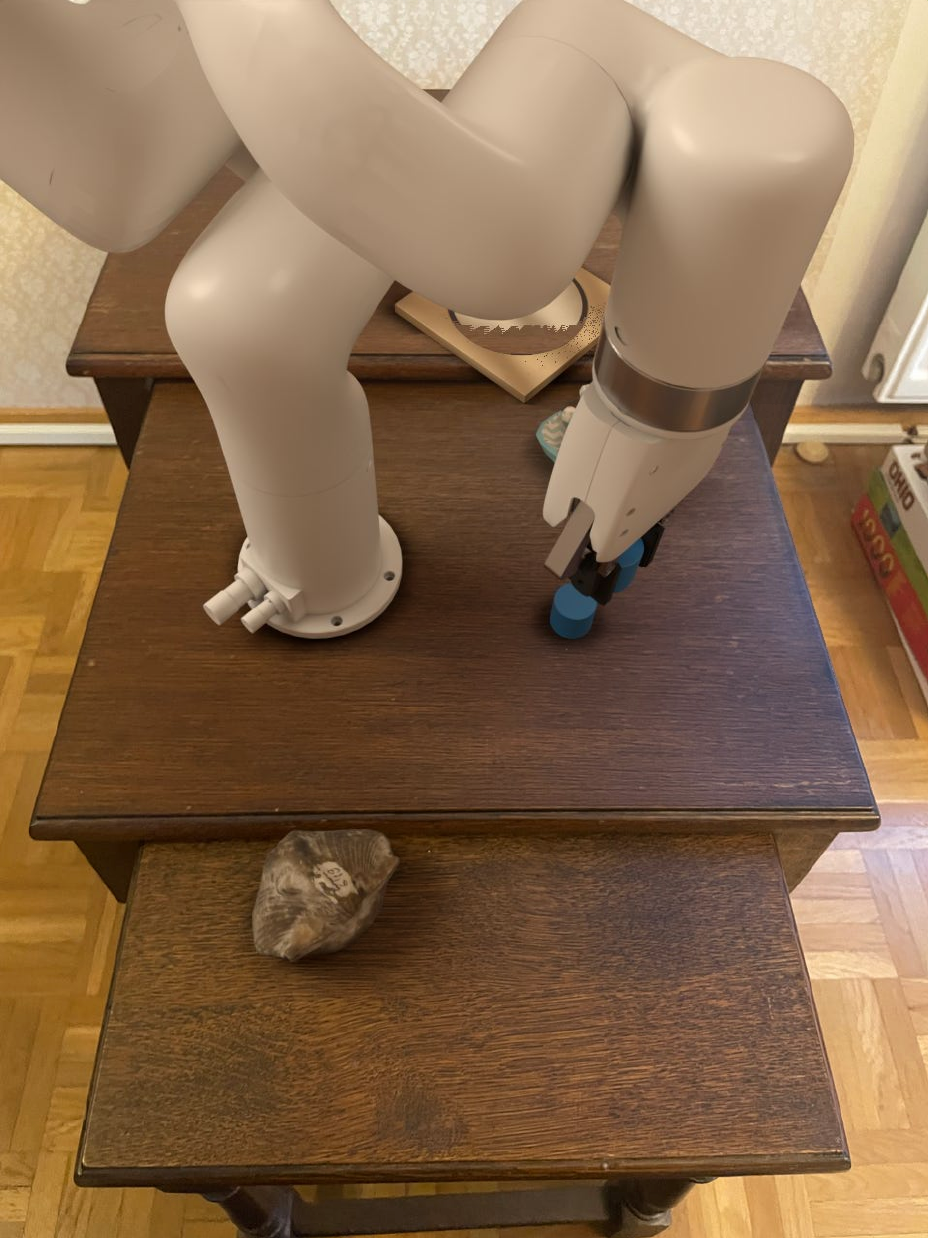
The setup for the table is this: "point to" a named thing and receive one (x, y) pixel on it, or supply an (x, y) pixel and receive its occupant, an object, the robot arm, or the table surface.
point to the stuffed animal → (555, 430)
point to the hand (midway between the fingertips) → (608, 568)
